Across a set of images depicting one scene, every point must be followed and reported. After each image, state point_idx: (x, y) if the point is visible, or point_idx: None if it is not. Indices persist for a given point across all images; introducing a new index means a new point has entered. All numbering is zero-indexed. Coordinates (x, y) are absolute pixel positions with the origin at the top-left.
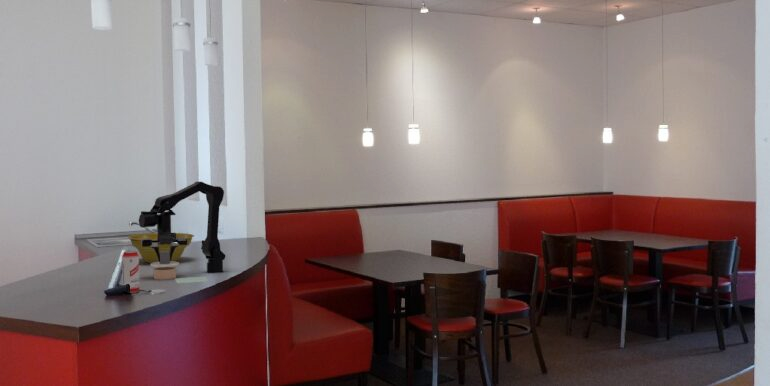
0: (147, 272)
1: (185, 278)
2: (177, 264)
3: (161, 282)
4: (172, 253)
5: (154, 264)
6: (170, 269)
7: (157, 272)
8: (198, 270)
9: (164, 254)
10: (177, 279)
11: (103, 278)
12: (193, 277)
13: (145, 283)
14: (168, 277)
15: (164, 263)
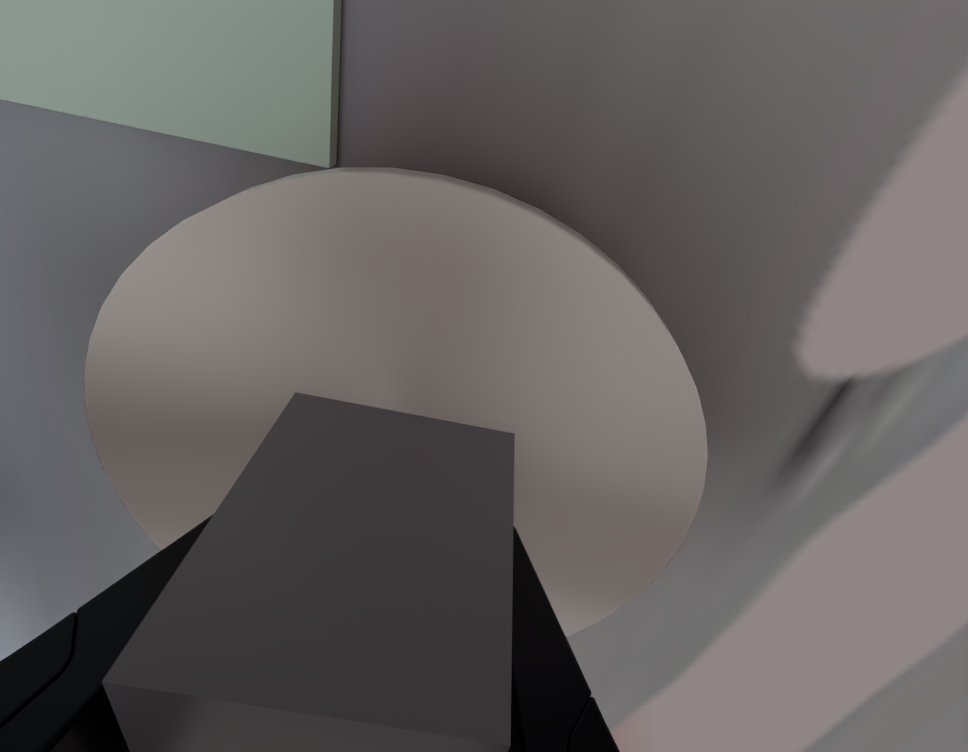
0: None
1: (137, 51)
2: (125, 283)
3: (591, 4)
4: (58, 632)
5: (653, 438)
6: None
7: None
8: (58, 611)
9: (357, 626)
10: (284, 11)
11: (943, 658)
12: (2, 91)
13: (865, 61)
14: None
15: (420, 418)
